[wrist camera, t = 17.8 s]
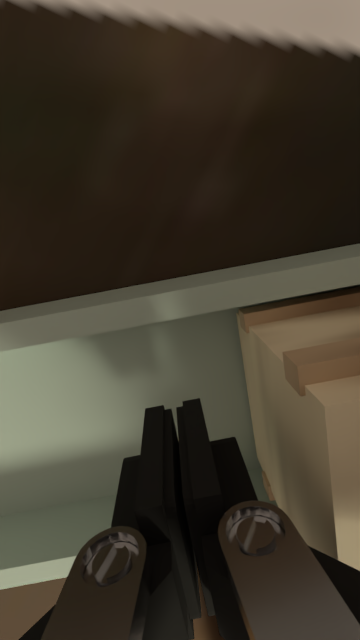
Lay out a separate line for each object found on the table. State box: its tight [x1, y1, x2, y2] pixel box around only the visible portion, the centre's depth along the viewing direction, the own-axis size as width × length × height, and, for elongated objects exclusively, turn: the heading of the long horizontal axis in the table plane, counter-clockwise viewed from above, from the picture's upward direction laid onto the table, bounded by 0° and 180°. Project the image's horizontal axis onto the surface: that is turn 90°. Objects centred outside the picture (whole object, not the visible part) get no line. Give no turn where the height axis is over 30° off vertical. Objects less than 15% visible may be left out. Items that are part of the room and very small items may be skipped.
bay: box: [0, 243, 360, 589], centre depth 12 cm, size 23×9×4 cm, turn 100°
